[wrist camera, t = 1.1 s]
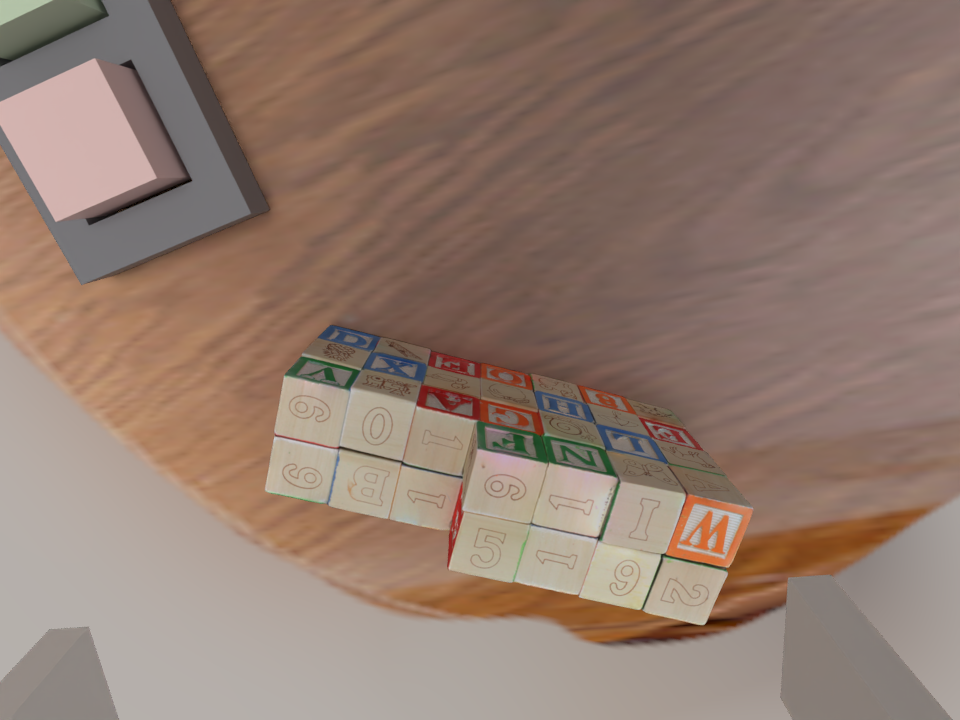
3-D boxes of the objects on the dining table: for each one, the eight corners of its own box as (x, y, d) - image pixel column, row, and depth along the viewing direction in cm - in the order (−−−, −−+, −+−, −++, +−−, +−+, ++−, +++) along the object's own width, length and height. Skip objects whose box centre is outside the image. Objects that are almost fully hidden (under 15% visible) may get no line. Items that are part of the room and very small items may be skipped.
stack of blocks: (310, 418, 39) (236, 526, 27) (329, 321, 37) (259, 392, 25) (641, 496, 40) (708, 631, 29) (674, 408, 39) (760, 512, 27)
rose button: (48, 114, 32) (-11, 106, 28) (142, 71, 31) (94, 57, 28) (104, 216, 33) (55, 221, 30) (194, 177, 33) (157, 177, 29)
